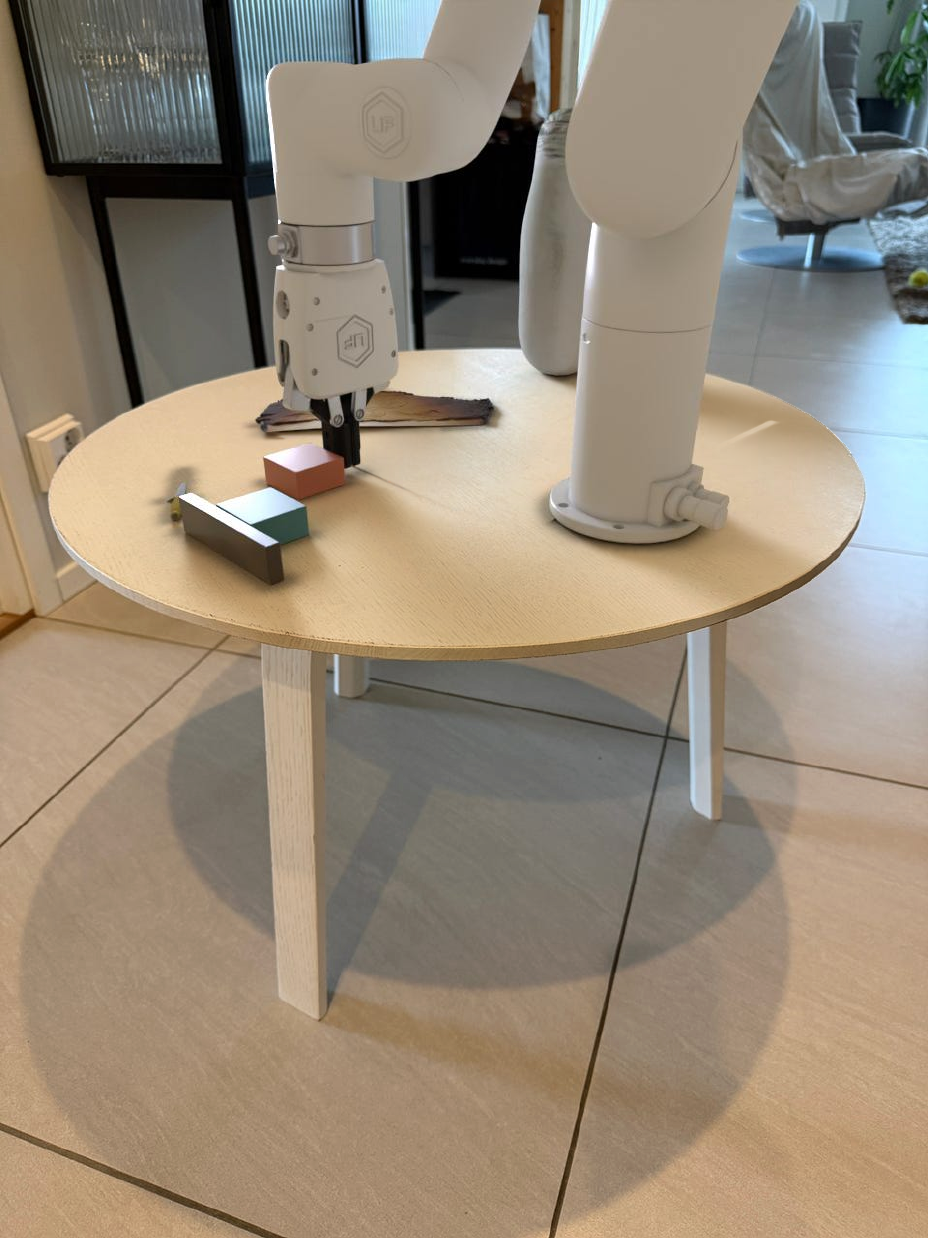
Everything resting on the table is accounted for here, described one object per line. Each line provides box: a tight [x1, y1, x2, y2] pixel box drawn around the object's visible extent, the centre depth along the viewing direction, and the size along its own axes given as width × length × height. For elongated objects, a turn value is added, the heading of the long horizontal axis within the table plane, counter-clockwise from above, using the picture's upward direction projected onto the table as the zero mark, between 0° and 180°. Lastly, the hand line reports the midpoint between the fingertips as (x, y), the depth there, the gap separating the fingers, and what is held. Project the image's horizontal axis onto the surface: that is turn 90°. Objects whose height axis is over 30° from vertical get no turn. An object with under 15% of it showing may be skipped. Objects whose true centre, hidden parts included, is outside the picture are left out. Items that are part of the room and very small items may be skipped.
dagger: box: [167, 481, 187, 521], centre depth 75 cm, size 11×1×2 cm
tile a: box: [215, 486, 310, 546], centre depth 68 cm, size 5×5×2 cm
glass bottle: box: [518, 107, 593, 377], centre depth 99 cm, size 10×10×28 cm
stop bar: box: [178, 492, 285, 586], centre depth 65 cm, size 12×1×3 cm, turn 45°
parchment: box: [255, 390, 495, 433], centre depth 92 cm, size 25×10×1 cm, turn 97°
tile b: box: [262, 442, 346, 501], centre depth 76 cm, size 5×5×2 cm
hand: (342, 462), depth 79 cm, fingers closed
